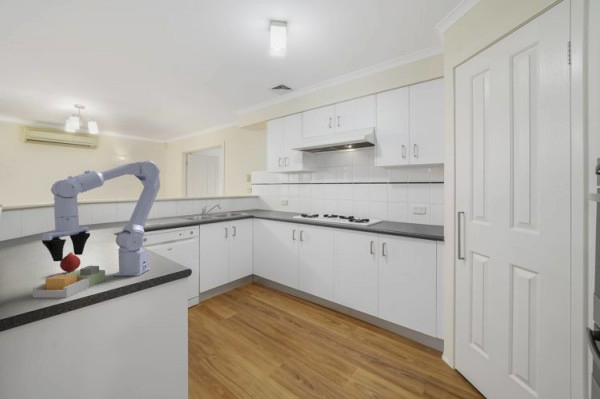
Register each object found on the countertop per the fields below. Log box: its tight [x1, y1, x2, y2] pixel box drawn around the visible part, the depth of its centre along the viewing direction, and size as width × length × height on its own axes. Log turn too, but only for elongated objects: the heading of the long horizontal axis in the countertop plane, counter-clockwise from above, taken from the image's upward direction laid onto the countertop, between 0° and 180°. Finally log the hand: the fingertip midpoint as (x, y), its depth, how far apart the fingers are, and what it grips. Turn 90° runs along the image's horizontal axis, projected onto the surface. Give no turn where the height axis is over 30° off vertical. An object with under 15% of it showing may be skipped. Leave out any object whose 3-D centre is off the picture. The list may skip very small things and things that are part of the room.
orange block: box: [44, 274, 77, 290], centre depth 79 cm, size 6×4×5 cm, turn 90°
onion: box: [59, 251, 81, 273], centre depth 97 cm, size 6×6×8 cm
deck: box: [32, 265, 106, 299], centre depth 82 cm, size 10×15×6 cm, turn 1°
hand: (68, 257), depth 83 cm, fingers open, 7 cm apart
